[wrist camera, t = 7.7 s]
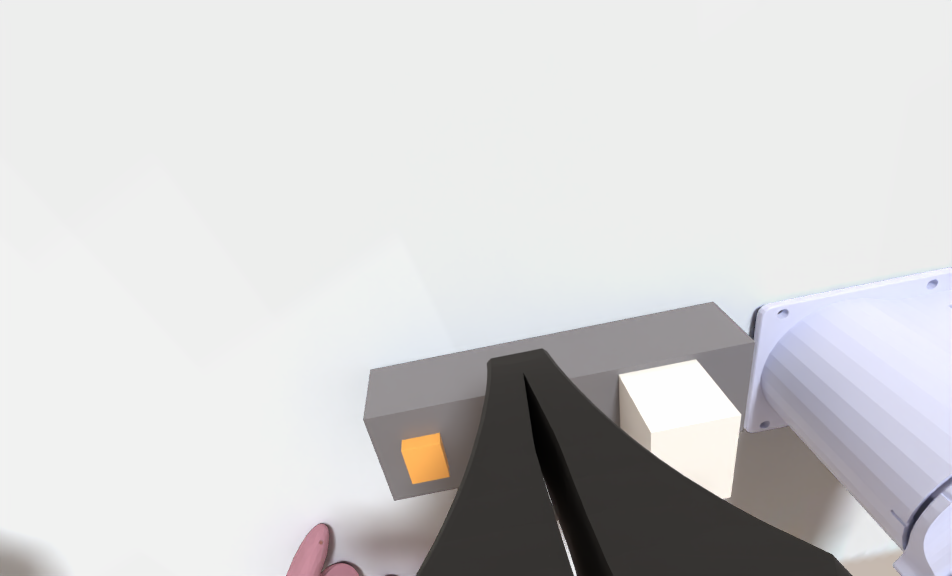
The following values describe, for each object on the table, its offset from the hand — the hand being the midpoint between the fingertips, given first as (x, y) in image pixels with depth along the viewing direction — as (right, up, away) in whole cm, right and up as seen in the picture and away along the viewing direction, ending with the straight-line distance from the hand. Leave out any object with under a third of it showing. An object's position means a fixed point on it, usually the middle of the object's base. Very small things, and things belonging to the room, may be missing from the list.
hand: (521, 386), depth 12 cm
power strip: (+3, -5, +14) cm, 15 cm away
